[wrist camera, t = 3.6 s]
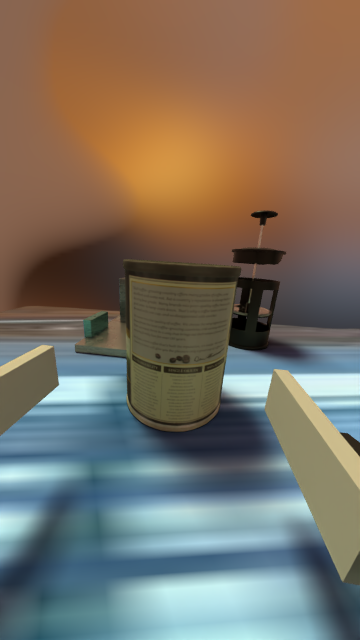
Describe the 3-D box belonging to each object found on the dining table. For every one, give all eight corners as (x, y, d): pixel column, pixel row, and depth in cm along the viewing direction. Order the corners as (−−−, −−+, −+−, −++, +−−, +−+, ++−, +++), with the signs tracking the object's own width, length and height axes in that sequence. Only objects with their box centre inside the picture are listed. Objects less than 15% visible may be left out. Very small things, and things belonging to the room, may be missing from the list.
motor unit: (180, 321, 48) (184, 275, 45) (167, 361, 28) (171, 284, 25) (125, 316, 49) (124, 271, 46) (74, 351, 29) (66, 276, 26)
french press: (264, 334, 43) (287, 219, 36) (278, 353, 34) (313, 204, 27) (210, 329, 44) (223, 217, 37) (210, 345, 35) (228, 202, 28)
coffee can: (112, 384, 22) (107, 257, 18) (183, 362, 28) (191, 263, 24) (154, 456, 15) (162, 261, 11) (241, 405, 20) (266, 268, 16)
